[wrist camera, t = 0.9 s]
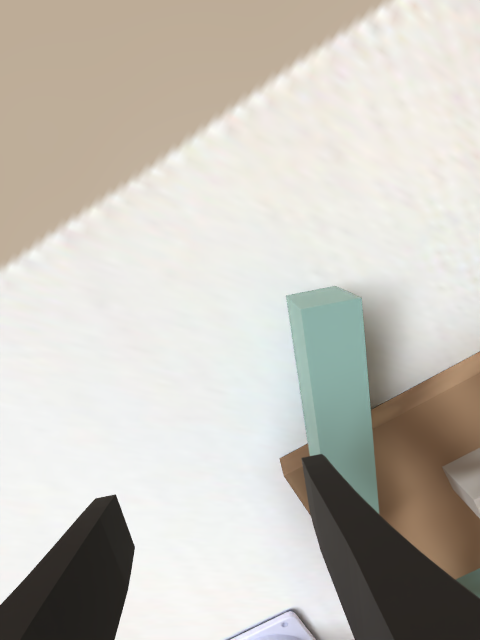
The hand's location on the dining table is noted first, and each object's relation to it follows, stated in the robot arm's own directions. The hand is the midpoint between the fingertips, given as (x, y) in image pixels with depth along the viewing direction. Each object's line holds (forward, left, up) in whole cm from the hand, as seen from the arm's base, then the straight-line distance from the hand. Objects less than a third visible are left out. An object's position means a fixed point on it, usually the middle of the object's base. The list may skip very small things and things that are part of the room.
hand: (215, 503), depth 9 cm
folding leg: (+4, -5, -8) cm, 10 cm away
